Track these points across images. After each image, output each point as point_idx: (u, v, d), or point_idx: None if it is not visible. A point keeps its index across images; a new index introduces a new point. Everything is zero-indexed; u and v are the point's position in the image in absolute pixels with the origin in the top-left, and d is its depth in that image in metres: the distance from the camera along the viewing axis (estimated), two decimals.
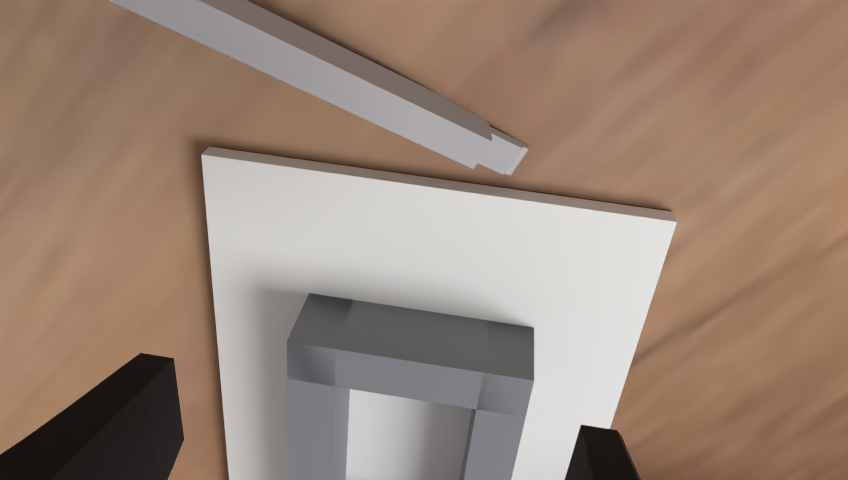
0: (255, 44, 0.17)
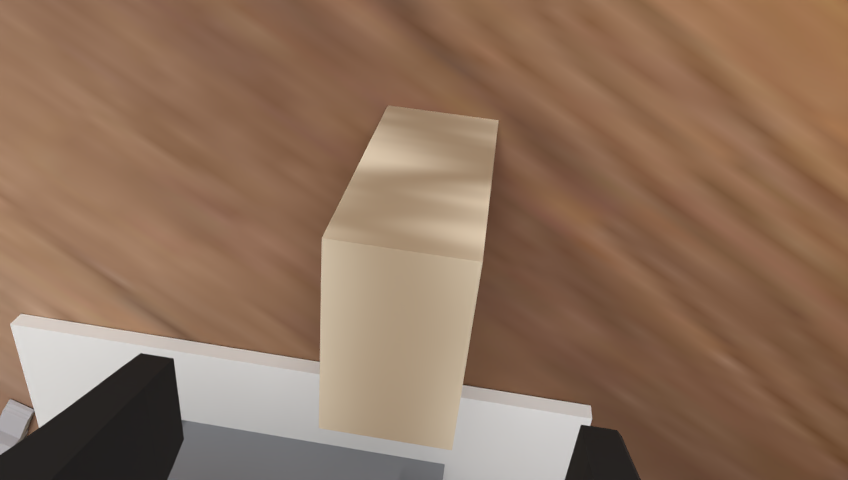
0: None
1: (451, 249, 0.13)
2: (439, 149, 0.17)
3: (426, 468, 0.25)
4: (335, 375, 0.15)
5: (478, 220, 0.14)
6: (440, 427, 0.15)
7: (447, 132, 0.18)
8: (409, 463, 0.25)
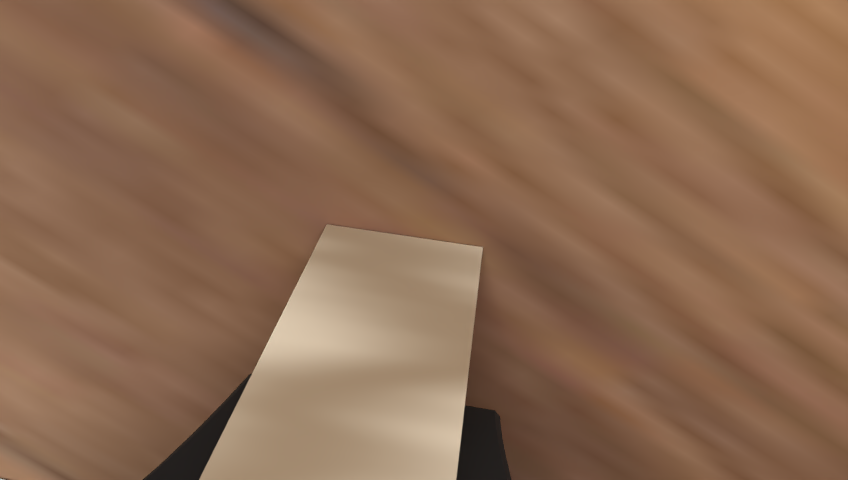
0: None
1: None
2: (392, 312, 0.11)
3: None
4: None
5: None
6: None
7: (407, 276, 0.12)
8: None
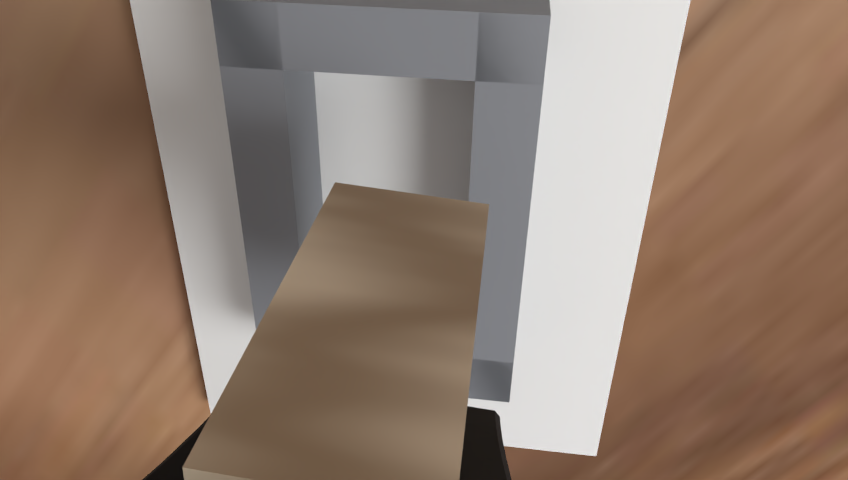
0: None
1: None
2: (402, 260, 0.11)
3: None
4: None
5: (452, 409, 0.09)
6: None
7: (416, 228, 0.12)
8: None
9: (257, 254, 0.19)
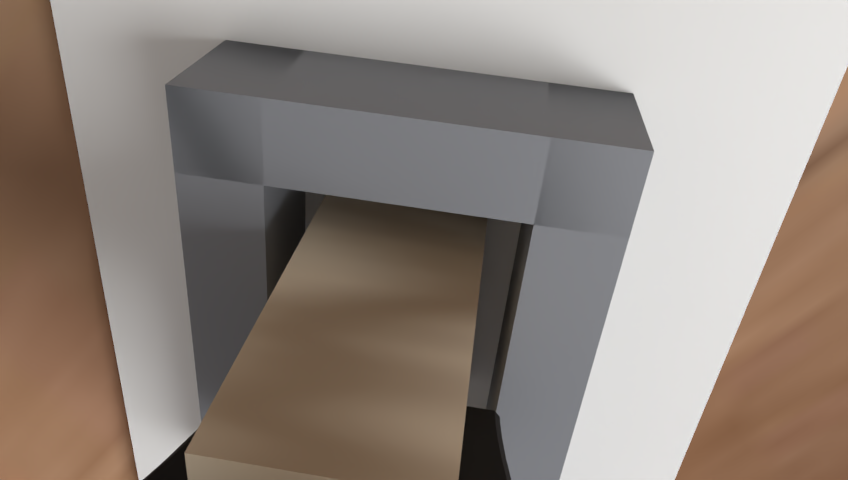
0: None
1: (404, 467, 0.08)
2: (402, 252, 0.12)
3: None
4: None
5: (453, 397, 0.09)
6: None
7: (416, 220, 0.12)
8: None
9: None
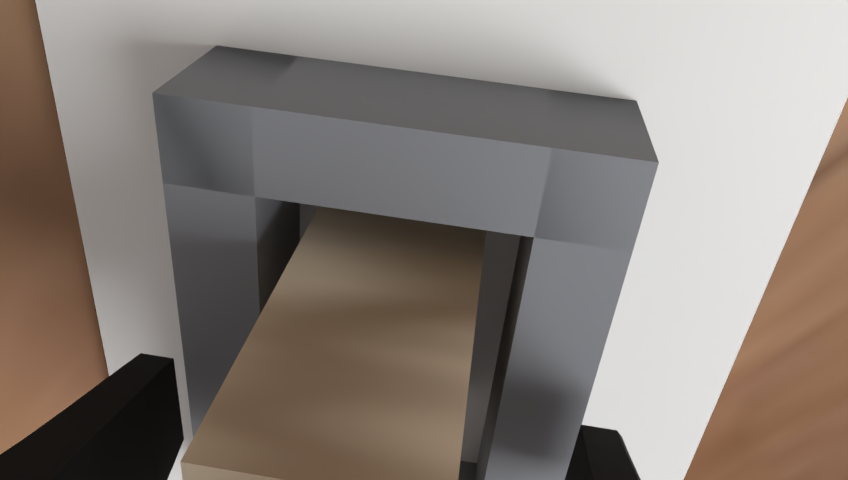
0: None
1: (402, 477, 0.08)
2: (401, 255, 0.11)
3: None
4: None
5: (452, 403, 0.09)
6: None
7: (415, 224, 0.12)
8: None
9: None
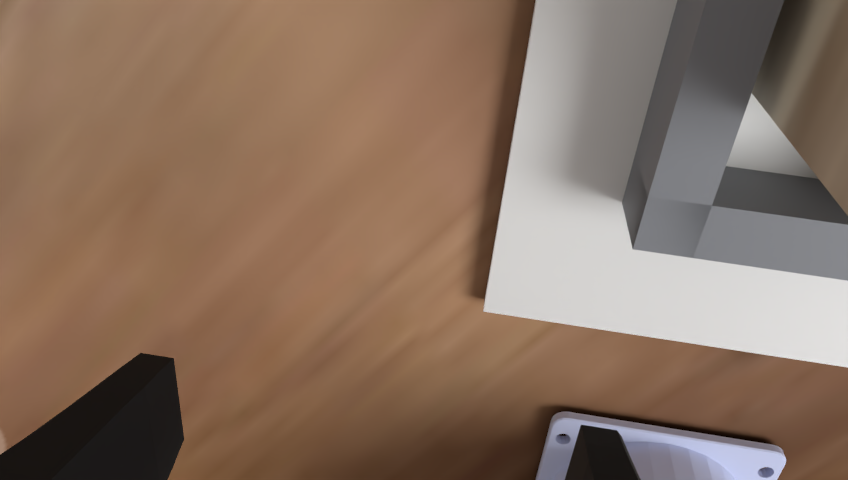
0: None
1: None
2: None
3: None
4: None
5: None
6: None
7: None
8: None
9: (698, 82, 0.15)
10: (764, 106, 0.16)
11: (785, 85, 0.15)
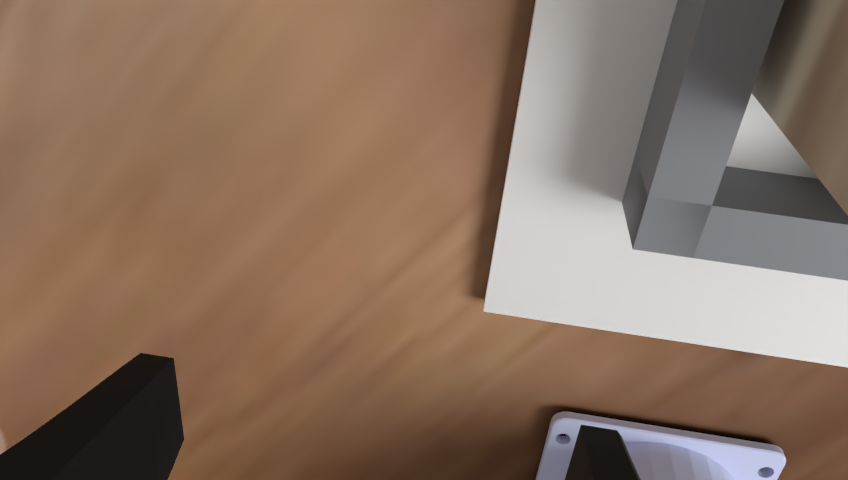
0: None
1: None
2: None
3: None
4: None
5: None
6: None
7: None
8: None
9: (698, 82, 0.15)
10: (764, 106, 0.16)
11: (785, 85, 0.15)
